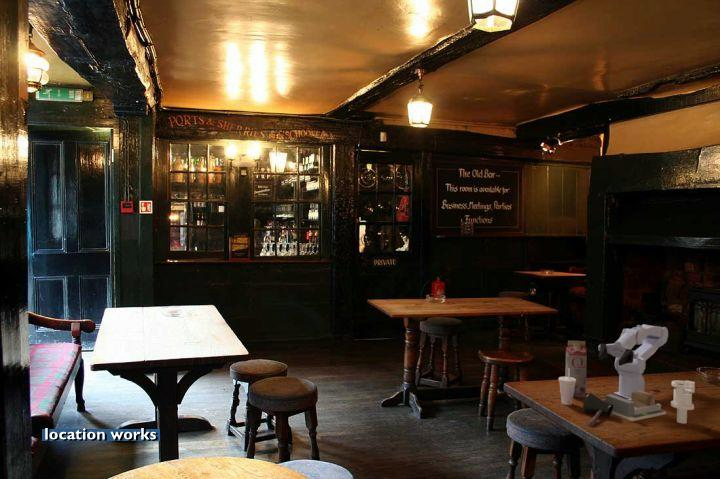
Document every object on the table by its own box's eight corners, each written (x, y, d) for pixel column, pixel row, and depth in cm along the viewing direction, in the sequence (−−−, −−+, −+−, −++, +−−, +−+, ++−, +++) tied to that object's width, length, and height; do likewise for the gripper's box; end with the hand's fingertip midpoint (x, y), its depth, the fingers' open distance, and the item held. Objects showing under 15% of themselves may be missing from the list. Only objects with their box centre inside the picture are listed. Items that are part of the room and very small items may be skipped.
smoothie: (576, 406, 208) (577, 370, 207) (559, 405, 209) (560, 369, 209) (573, 401, 214) (574, 366, 214) (556, 400, 215) (557, 365, 215)
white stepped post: (690, 427, 189) (692, 384, 188) (667, 421, 193) (669, 380, 193) (695, 421, 194) (696, 380, 193) (673, 416, 199) (674, 376, 198)
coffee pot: (590, 407, 207) (613, 416, 201) (568, 425, 194) (592, 435, 188) (592, 389, 205) (615, 398, 199) (571, 406, 193) (595, 416, 187)
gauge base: (634, 403, 213) (635, 388, 213) (665, 414, 201) (666, 398, 201) (601, 409, 205) (602, 393, 205) (632, 421, 193) (632, 404, 193)
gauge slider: (640, 403, 209) (640, 390, 209) (662, 411, 201) (663, 397, 200) (631, 405, 207) (631, 392, 207) (653, 413, 199) (653, 399, 198)
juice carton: (585, 397, 219) (587, 343, 218) (568, 396, 220) (569, 342, 220) (581, 392, 226) (583, 339, 225) (564, 391, 227) (566, 338, 226)
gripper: (604, 333, 221) (589, 347, 212) (642, 340, 210) (628, 355, 202) (605, 348, 223) (590, 363, 214) (642, 356, 212) (629, 372, 203)
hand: (609, 360), depth 208 cm, fingers open, 7 cm apart
